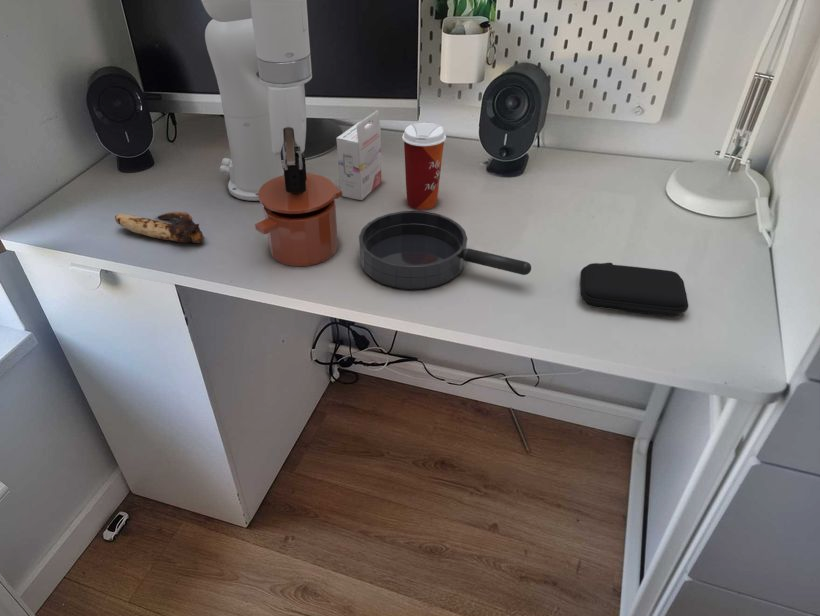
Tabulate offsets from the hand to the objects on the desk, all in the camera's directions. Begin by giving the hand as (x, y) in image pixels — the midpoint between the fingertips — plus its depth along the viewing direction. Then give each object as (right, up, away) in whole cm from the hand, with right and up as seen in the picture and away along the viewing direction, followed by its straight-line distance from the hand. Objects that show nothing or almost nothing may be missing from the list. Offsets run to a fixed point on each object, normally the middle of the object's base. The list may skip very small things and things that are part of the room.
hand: (296, 185), depth 103 cm
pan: (+19, -12, +3) cm, 22 cm away
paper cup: (+22, +1, +18) cm, 28 cm away
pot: (+1, -9, +7) cm, 11 cm away
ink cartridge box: (+11, +5, +23) cm, 25 cm away
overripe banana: (-25, -5, +13) cm, 28 cm away
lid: (0, -1, +1) cm, 2 cm away
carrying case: (+51, -18, -7) cm, 54 cm away
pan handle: (+31, -14, -4) cm, 34 cm away
